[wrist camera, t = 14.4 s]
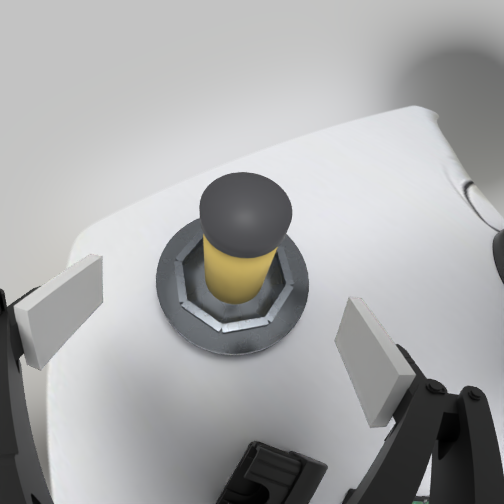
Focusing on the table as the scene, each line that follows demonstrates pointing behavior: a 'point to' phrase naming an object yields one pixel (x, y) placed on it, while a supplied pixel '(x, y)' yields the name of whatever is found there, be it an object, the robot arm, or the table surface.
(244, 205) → the capped yellow cylinder
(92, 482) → the table surface
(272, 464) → the end cap
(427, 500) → the disk drive
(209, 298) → the grey round dish
